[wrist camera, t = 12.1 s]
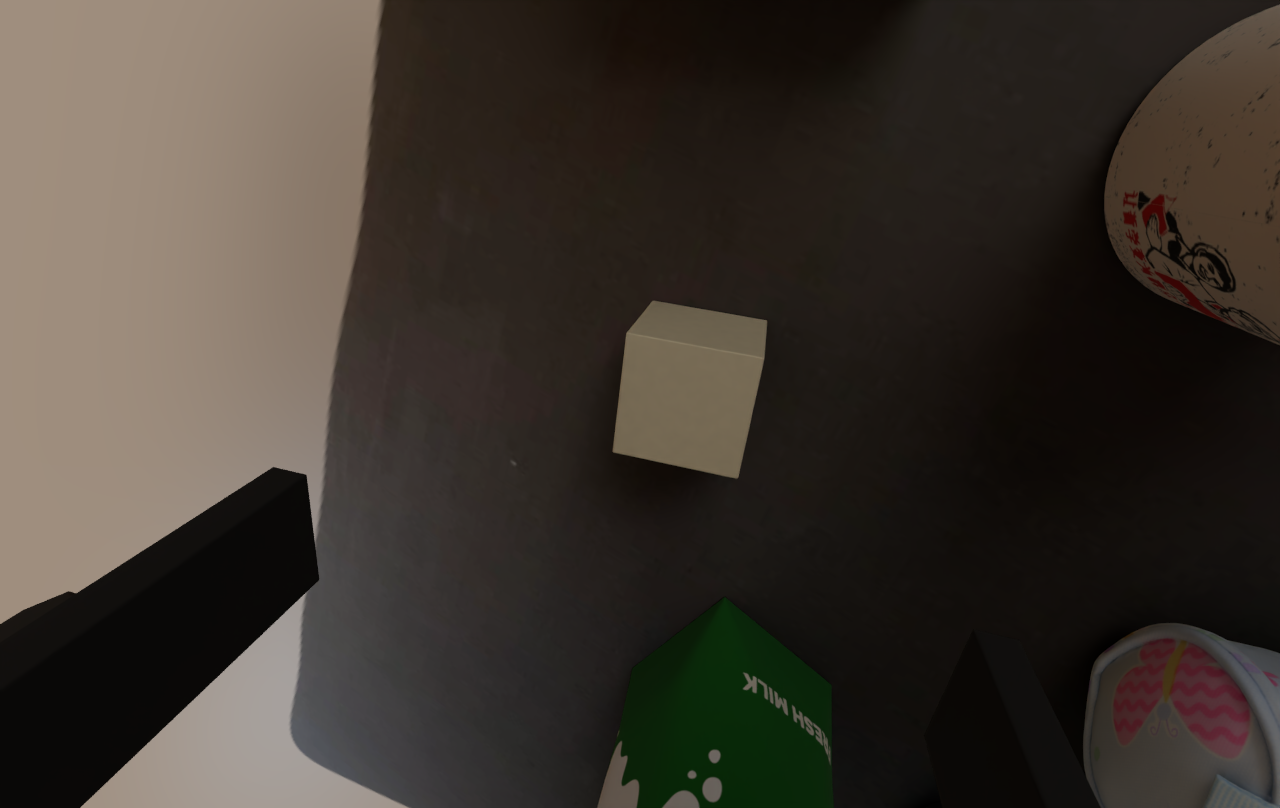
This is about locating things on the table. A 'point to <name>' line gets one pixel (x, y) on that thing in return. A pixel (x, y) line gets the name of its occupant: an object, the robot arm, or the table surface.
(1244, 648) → the pencil case
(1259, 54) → the teacup with lid
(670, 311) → the block
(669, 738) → the milk carton
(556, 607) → the table surface
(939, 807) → the carrying case
